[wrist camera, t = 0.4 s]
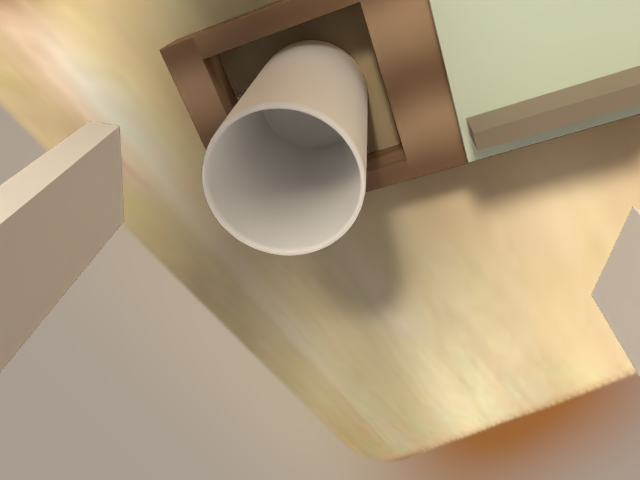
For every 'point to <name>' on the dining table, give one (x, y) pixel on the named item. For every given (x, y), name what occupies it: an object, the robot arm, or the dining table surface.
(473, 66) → the lid
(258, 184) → the cup
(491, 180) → the dining table surface
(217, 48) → the board
